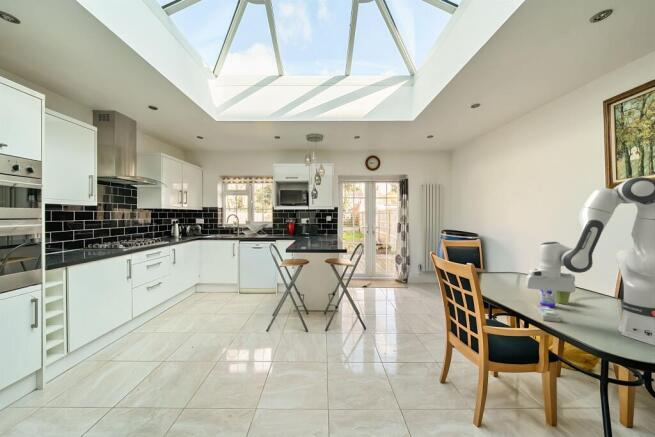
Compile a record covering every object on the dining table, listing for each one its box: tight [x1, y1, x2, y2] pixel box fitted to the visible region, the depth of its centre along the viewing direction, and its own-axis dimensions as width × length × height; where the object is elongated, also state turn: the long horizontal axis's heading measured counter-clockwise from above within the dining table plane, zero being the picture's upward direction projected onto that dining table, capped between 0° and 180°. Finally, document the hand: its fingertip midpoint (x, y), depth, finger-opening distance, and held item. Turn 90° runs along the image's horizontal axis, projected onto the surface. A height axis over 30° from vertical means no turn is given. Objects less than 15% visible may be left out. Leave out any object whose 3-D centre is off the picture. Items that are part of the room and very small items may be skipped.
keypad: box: [532, 304, 561, 323], centre depth 142 cm, size 17×7×3 cm, turn 156°
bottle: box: [538, 289, 556, 308], centre depth 156 cm, size 7×6×17 cm
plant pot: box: [555, 291, 572, 305], centre depth 162 cm, size 9×9×9 cm
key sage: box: [543, 310, 557, 316], centre depth 138 cm, size 4×4×2 cm
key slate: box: [540, 307, 553, 312], centre depth 142 cm, size 4×4×2 cm
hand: (549, 298), depth 138 cm, fingers closed
